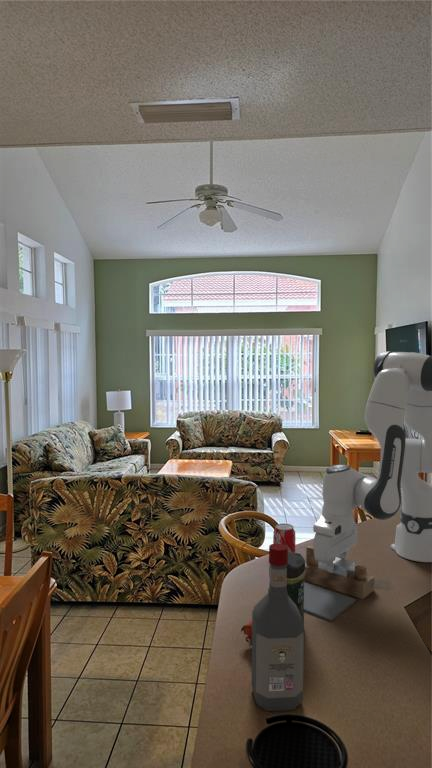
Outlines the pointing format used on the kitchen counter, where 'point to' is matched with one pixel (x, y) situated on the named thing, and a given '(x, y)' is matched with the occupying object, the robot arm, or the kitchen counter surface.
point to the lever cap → (339, 567)
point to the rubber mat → (324, 602)
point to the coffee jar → (296, 580)
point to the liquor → (277, 641)
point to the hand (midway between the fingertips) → (336, 567)
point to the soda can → (285, 536)
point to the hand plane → (338, 578)
